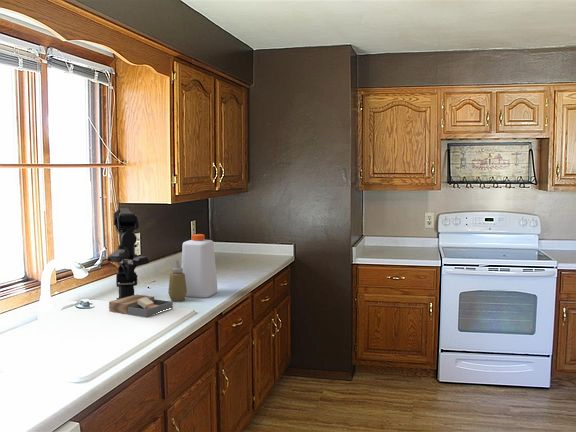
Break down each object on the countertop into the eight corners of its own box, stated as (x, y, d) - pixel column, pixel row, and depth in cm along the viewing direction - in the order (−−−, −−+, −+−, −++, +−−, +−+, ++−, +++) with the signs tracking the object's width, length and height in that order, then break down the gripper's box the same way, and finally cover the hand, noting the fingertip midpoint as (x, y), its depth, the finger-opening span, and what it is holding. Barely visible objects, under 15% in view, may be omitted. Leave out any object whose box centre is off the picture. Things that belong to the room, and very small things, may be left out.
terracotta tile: (154, 308, 238) (154, 312, 238) (162, 305, 242) (162, 310, 242) (146, 306, 240) (146, 311, 240) (153, 304, 244) (153, 309, 244)
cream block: (137, 303, 242) (138, 299, 241) (144, 301, 246) (146, 296, 245) (144, 308, 240) (146, 304, 239) (152, 306, 244) (153, 302, 243)
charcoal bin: (127, 314, 237) (127, 307, 237) (154, 306, 251) (154, 299, 251) (146, 317, 232) (146, 309, 232) (172, 308, 246) (172, 301, 246)
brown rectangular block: (109, 311, 242) (109, 301, 242) (136, 303, 256) (136, 294, 256) (127, 314, 237) (127, 304, 237) (154, 305, 251) (154, 296, 251)
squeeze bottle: (178, 303, 256) (177, 262, 254) (164, 301, 260) (163, 260, 259) (190, 299, 263) (190, 259, 261) (177, 297, 267) (176, 258, 265)
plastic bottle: (207, 299, 264) (206, 237, 262) (176, 297, 268) (175, 236, 266) (220, 292, 278) (219, 233, 276) (191, 290, 283) (190, 232, 280)
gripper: (97, 243, 245) (98, 280, 246) (130, 246, 236) (131, 285, 237) (117, 240, 254) (117, 275, 256) (149, 243, 245) (150, 280, 247)
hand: (128, 279), depth 249 cm, fingers closed
